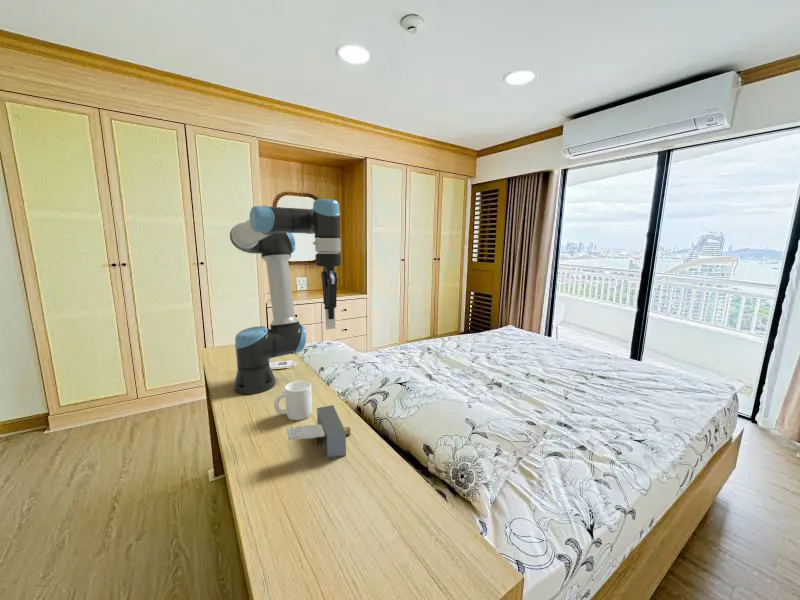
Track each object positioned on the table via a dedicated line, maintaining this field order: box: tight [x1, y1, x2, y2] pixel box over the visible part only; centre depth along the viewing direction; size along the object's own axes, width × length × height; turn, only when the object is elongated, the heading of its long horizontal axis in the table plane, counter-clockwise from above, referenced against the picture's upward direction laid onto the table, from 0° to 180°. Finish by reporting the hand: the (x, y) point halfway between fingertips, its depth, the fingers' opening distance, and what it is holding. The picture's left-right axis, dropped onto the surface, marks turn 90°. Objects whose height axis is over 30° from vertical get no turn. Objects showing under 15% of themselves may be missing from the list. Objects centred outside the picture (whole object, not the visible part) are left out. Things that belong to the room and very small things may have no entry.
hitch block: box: [316, 404, 347, 461], centre depth 96 cm, size 16×5×7 cm, turn 23°
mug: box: [273, 380, 313, 421], centre depth 110 cm, size 12×8×10 cm
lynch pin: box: [308, 426, 351, 447], centre depth 98 cm, size 12×4×2 cm, turn 112°
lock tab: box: [286, 424, 325, 441], centre depth 88 cm, size 5×9×1 cm, turn 113°
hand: (330, 328), depth 105 cm, fingers closed
